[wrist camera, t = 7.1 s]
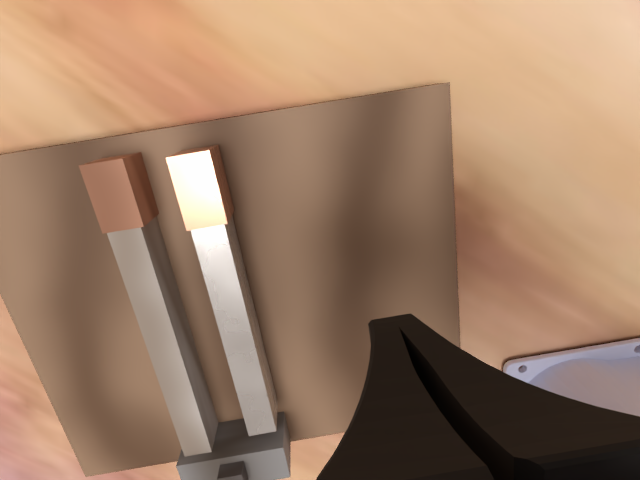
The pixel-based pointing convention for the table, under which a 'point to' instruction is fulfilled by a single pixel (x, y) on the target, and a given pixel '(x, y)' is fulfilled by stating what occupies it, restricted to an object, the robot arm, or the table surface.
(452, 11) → the table surface
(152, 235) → the tongs board
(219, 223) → the tong arm
